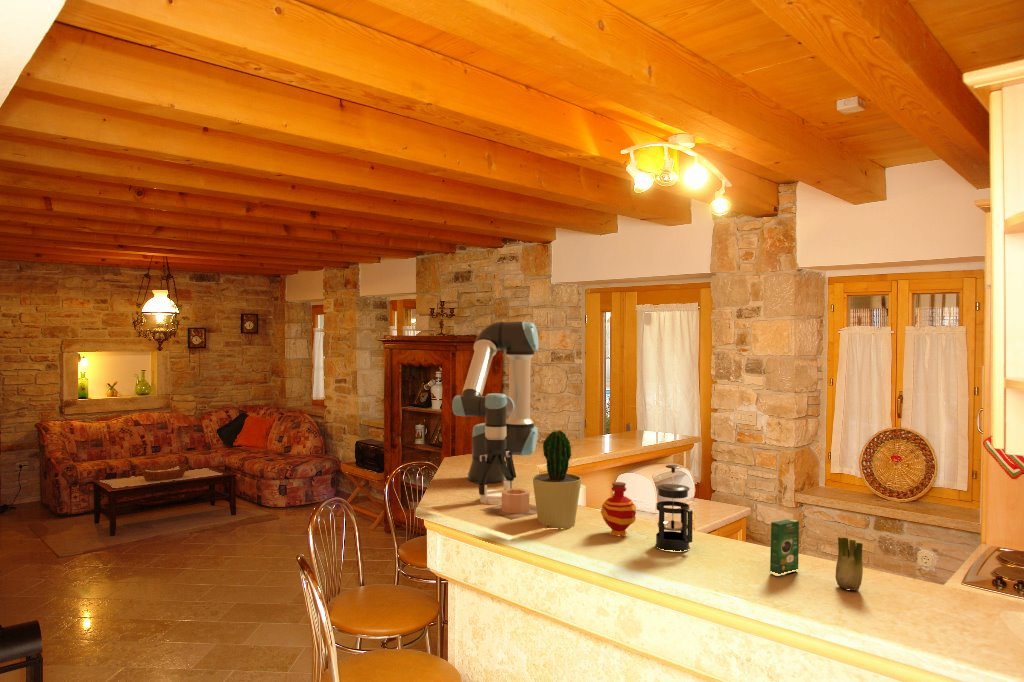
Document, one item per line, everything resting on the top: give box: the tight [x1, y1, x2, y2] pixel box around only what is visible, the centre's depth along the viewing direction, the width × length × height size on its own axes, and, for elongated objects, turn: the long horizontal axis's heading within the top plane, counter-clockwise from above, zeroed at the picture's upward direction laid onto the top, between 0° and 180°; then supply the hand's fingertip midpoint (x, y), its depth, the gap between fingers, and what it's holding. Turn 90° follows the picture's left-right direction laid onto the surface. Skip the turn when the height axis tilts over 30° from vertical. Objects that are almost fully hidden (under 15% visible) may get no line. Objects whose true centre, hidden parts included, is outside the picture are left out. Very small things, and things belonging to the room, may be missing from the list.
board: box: [479, 503, 537, 520], centre depth 225 cm, size 18×16×1 cm
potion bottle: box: [600, 481, 637, 536], centre depth 203 cm, size 10×10×15 cm
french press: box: [655, 464, 694, 551], centre depth 190 cm, size 12×9×23 cm
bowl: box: [501, 488, 530, 514], centre depth 225 cm, size 9×9×6 cm
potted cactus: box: [532, 429, 582, 530], centre depth 213 cm, size 15×15×30 cm
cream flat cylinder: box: [487, 489, 504, 505], centre depth 238 cm, size 10×10×4 cm
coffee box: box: [769, 518, 800, 574], centre depth 170 cm, size 8×3×13 cm, turn 122°
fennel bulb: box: [835, 536, 864, 591], centre depth 159 cm, size 6×5×12 cm
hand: (495, 501), depth 238 cm, fingers closed on cream flat cylinder, 10 cm apart
